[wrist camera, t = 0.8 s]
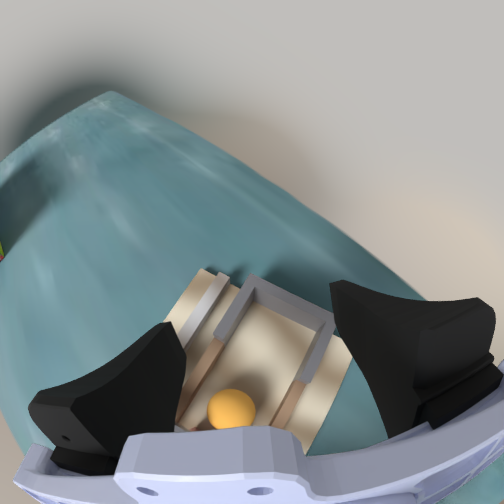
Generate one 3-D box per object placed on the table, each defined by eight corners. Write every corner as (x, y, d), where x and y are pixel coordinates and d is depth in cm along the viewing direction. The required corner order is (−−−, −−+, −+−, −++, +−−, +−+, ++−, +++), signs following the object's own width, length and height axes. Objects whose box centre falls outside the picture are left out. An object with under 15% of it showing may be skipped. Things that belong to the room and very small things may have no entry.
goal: (301, 386, 23) (310, 383, 20) (215, 342, 25) (212, 333, 22) (328, 327, 26) (339, 316, 23) (249, 288, 28) (250, 272, 25)
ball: (240, 438, 20) (241, 445, 17) (201, 417, 21) (194, 419, 17) (262, 402, 22) (266, 402, 18) (223, 382, 23) (220, 378, 19)
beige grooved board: (272, 501, 17) (276, 511, 15) (110, 409, 21) (96, 408, 18) (353, 347, 26) (364, 340, 23) (202, 272, 30) (198, 258, 27)
